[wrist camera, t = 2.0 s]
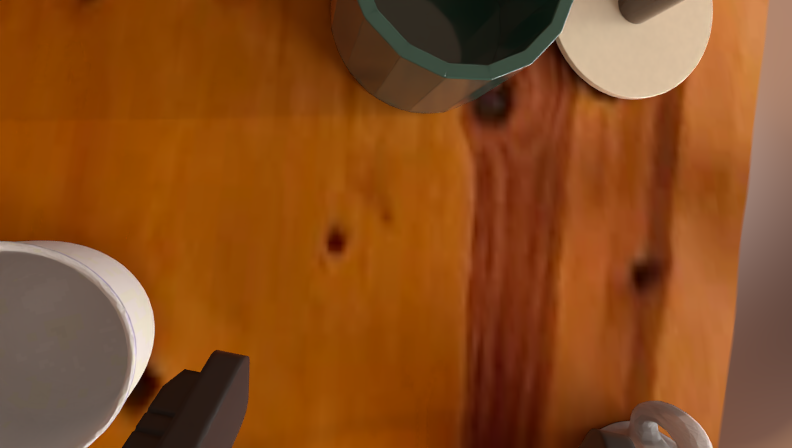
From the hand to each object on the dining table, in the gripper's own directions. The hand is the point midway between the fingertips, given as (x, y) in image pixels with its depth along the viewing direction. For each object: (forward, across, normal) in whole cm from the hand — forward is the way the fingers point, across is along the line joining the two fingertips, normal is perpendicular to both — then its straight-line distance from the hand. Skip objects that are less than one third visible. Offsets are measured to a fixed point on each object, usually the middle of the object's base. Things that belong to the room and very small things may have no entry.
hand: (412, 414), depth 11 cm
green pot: (+27, +2, -5) cm, 28 cm away
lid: (+32, -13, -9) cm, 36 cm away
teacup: (+12, +19, +15) cm, 26 cm away
